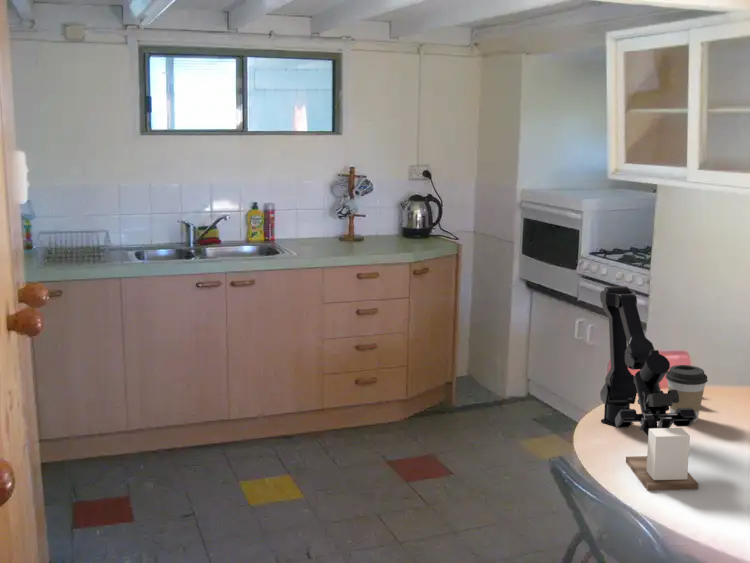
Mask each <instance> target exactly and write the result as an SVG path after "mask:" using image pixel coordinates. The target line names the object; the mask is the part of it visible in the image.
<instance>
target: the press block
mask: <svg viewBox="0 0 750 563" xmlns="http://www.w3.org/2000/svg"><path fill="white" fill-rule="evenodd" d="M690 440H691V436H690V434H689V433H688V432H686V431H685V429H683V427H670V428H653V429H649V434H648V435H647V455H646V456H647V472H648V474H649V475H650V476H651V477H652V479H653V480H682V479H687V475H688V473H689V471H688V470H689V458H690V456H689V455H690V444H691V441H690Z"/></svg>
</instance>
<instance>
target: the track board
mask: <svg viewBox="0 0 750 563" xmlns="http://www.w3.org/2000/svg"><path fill="white" fill-rule="evenodd" d="M625 463H626V464H627V466H628V467H629V468H630V470H631V471H632V473H633V474H634V475H635V476H636V477H637V479H638V480H639V482H640V483H641V484H642V485H643V487H644V488H645V489H646V491H648V492H649V491H651V492H652V491H676V490H677V491H681V490H680V489H691V490H699V483H698V481H697V480H696V479H695V478H694V477H693V476H692V475H691V473H690V472H688V475H687V479H682V480H653V479H652V477H651V476H650V475H649V474H648V472H647V455H644V456H643V455H642V456H641V455H638V456H637V455H635V456H625Z"/></svg>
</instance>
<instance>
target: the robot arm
mask: <svg viewBox="0 0 750 563" xmlns="http://www.w3.org/2000/svg"><path fill="white" fill-rule="evenodd" d="M599 297H600V300H599V301H600V302H601V304H602V310H603V311H604V313H605V315H606V317H608V325H609V326H608V327H609V328H608V329H609V330H608V331H609V353H610V354H609V356H610V369H609V371H608V373H607V374H606V376H605V380H604V381H605V382H604V385H603V386H602V388H601V390H600V393H599V394H600V400H601V402H602V403H603V404H604V410H603V411H604V412H603V413H604V414H603V415H604V417H603V418H602V419H601V420H600V422H601V423H603V424H604V423H605V424H608V425H610V426H614V427H616V428H617V429H628V428H630V426H631V423H635V422H636V423H639V425H640V426H639V428H638V429H639V431H642V432H644V433H645V434H646V436H648V434H649V429H653V428H671V427H672V425H674V426H676V428H683V427H690V426H691V425H692V424H694V423H693V421H694V420H695V419H696V418H697V416H696V413H695V411H694V410H693V409H692V408H678V409H677V410H676V411H675V413H670V412H669V411H670V406H673V403H678V402H679V394H678V391H677V390H669V391H668V390H667V392H664V391H663V390H661V387H660V383H661V381H663V380H664V378H665V377H666V373H667V372H668V371H669V370H670V368H671V367H670V366H671V363H670V360H668V358H667V357H666V356H665V355H662V354H661V353H660V351H659V350H658V349H655V348H654V347H655V346H654V344H653V343H652V341H651V340H650V339H648V338H647V337H646V334H645V332H644V328H643V327H644V326H643V325H642V320H641V317H640V314H639V310H638V306H637V305H638V299H637V294H636V291H634V290H631V289H629V287H628V286H622V285H621V286H604V289H603V290H601V291H600V294H599ZM629 369H630V370H632V371H634V370H638V371H637V372H636V373H635V374H632V373H631V371H630V370H629ZM637 398H638V399H637ZM636 400H637V405H639V406H640V410H641V411H640V412H641V413H637V410H636V409H634V408H631V407H630V406H631V405H635V403H636ZM667 412H668V413H667Z"/></svg>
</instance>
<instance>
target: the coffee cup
mask: <svg viewBox="0 0 750 563" xmlns="http://www.w3.org/2000/svg"><path fill="white" fill-rule="evenodd" d="M665 379H666V380H667V389H668V390H667V392H668V391H669V390H677V391H678V394H679V402H678V403H673V406H669V413H675V411H676V410H677V409H678V408H692V409H693V410H694V411H695V413H696V416H697V418H696V419H695V420H694V421H693V423H692V424H695V423H697V422H698V419H699V414H700V411H701V410H700V409H701V406H702V400H703V396H704V391H705V387H706V383H707V382H708V375H706V373H705V370H704V369H703V368H701V367H697V366H695V365H694V366H693V365H690V364H689V365H687V364H679V365H673V366H671V367H670V368H669V370H668V372H667V373H666V375H665Z"/></svg>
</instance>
